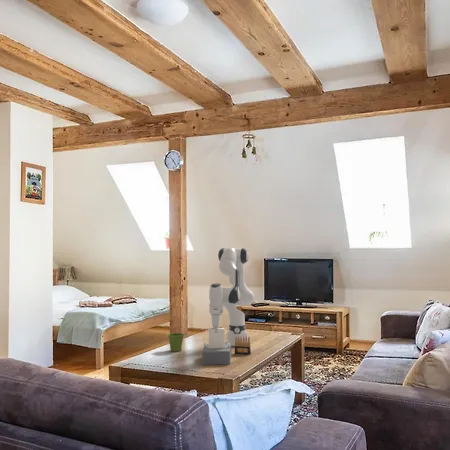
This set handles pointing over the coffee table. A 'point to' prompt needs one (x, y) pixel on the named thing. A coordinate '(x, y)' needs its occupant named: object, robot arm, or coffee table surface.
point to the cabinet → (216, 355)
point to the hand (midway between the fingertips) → (216, 331)
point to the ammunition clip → (242, 346)
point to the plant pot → (175, 341)
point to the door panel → (217, 338)
